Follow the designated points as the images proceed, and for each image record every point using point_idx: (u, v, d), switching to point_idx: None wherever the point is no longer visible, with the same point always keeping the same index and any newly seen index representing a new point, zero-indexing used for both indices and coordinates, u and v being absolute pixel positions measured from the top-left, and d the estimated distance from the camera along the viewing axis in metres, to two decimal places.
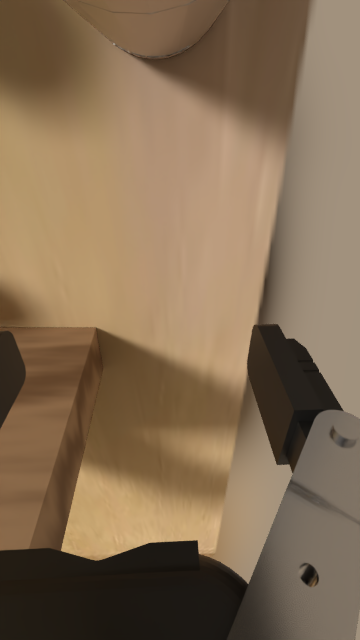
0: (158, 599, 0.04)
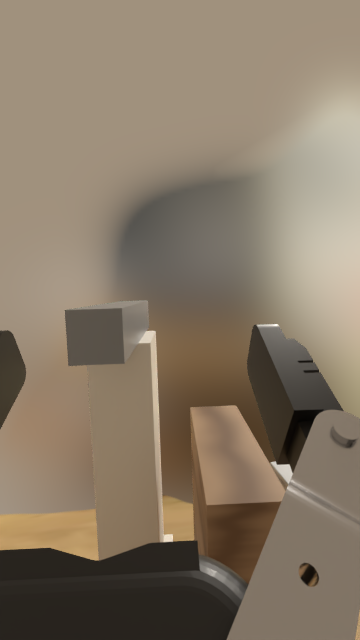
0: (158, 599, 0.04)
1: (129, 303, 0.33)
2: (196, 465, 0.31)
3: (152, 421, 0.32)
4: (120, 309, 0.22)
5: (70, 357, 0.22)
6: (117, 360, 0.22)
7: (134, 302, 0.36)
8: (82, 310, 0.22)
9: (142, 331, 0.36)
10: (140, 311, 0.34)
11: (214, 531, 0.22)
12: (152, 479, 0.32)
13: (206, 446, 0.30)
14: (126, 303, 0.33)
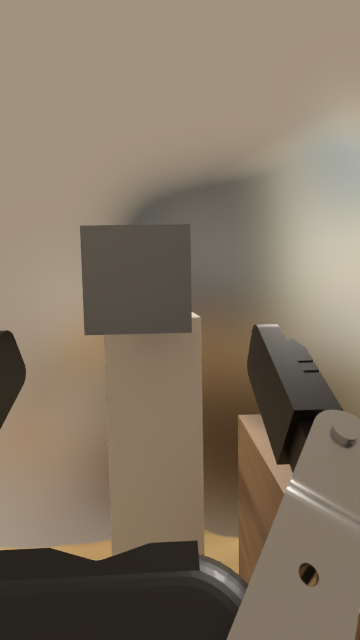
0: (158, 599, 0.04)
1: None
2: (267, 504, 0.21)
3: (200, 436, 0.21)
4: (187, 226, 0.11)
5: (89, 318, 0.11)
6: (178, 326, 0.11)
7: None
8: (114, 227, 0.11)
9: None
10: None
11: None
12: (198, 523, 0.22)
13: (289, 477, 0.19)
14: None
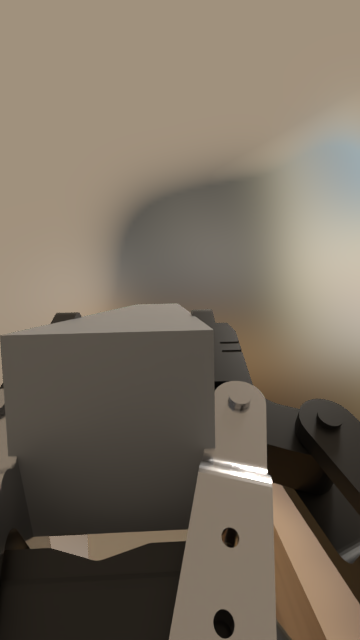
0: (158, 599, 0.04)
1: None
2: None
3: None
4: (208, 334, 0.06)
5: None
6: None
7: None
8: (66, 337, 0.06)
9: None
10: None
11: None
12: None
13: (337, 619, 0.14)
14: None
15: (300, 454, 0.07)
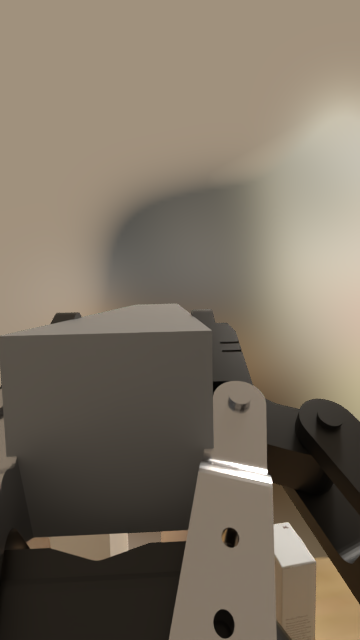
0: (158, 599, 0.04)
1: None
2: None
3: None
4: (206, 335, 0.06)
5: None
6: (189, 517, 0.06)
7: None
8: (65, 338, 0.06)
9: None
10: None
11: None
12: None
13: None
14: None
15: (300, 454, 0.07)
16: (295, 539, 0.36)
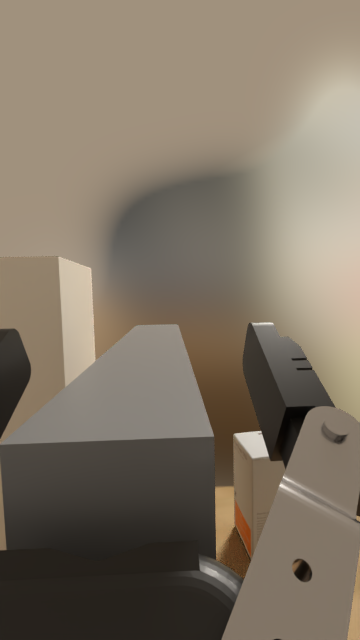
0: (158, 599, 0.04)
1: (167, 345, 0.17)
2: None
3: (62, 361, 0.24)
4: (209, 441, 0.06)
5: None
6: None
7: (169, 337, 0.20)
8: (66, 445, 0.06)
9: None
10: None
11: None
12: None
13: None
14: (160, 345, 0.17)
15: None
16: None
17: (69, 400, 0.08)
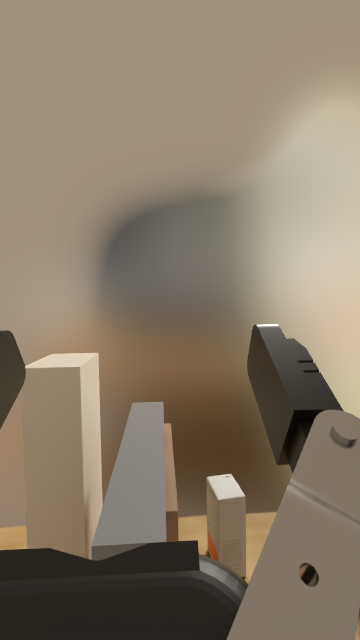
0: (158, 599, 0.04)
1: (153, 447, 0.27)
2: None
3: (81, 438, 0.35)
4: None
5: None
6: None
7: (155, 431, 0.31)
8: (114, 545, 0.16)
9: None
10: None
11: None
12: (80, 492, 0.35)
13: None
14: (149, 446, 0.28)
15: None
16: (233, 483, 0.46)
17: (108, 515, 0.19)
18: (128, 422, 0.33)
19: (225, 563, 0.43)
